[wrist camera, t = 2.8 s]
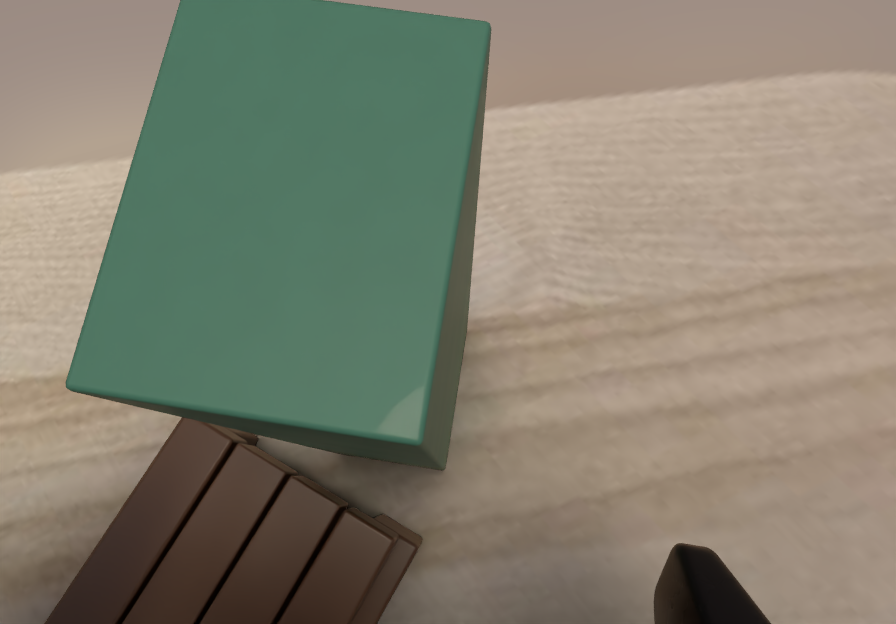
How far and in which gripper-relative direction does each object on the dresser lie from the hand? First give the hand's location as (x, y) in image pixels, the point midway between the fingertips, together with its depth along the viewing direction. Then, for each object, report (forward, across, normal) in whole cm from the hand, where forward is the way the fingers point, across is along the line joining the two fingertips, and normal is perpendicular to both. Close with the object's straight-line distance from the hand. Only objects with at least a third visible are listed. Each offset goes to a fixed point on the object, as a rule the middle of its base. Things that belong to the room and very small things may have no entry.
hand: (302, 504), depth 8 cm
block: (+9, 0, +5) cm, 10 cm away
